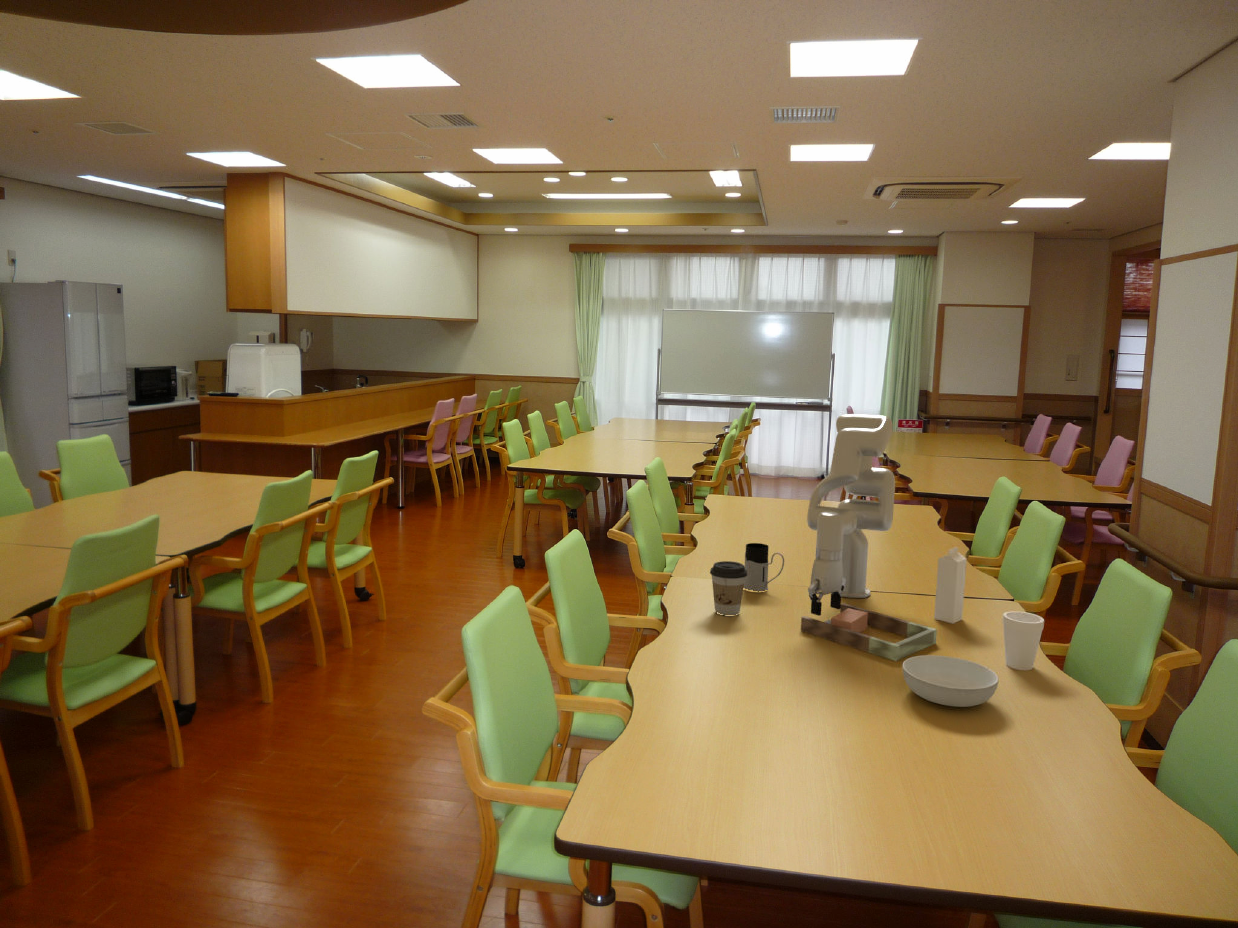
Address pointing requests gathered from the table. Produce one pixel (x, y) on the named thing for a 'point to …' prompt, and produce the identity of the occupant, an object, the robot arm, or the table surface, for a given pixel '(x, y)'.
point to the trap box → (916, 633)
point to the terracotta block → (851, 620)
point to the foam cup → (1021, 638)
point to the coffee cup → (728, 586)
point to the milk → (950, 587)
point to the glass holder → (758, 567)
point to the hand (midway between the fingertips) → (825, 611)
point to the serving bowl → (949, 680)
